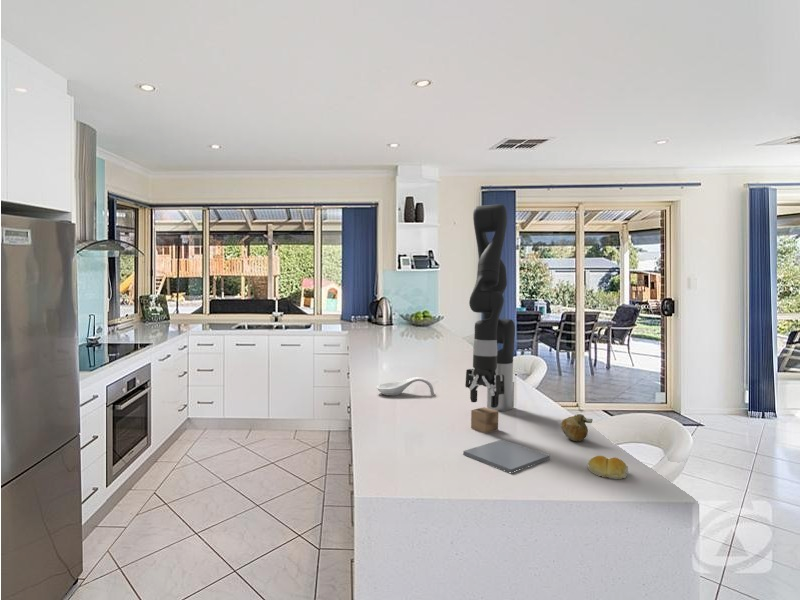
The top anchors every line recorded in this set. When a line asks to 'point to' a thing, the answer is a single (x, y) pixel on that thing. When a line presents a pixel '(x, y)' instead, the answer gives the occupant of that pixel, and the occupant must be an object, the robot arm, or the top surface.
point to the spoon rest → (401, 386)
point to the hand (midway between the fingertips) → (483, 404)
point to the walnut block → (484, 419)
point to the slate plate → (506, 455)
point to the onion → (575, 427)
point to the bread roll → (608, 467)
